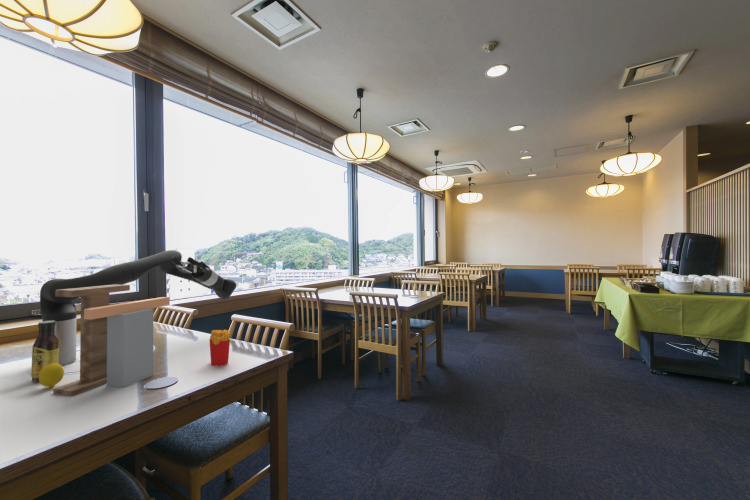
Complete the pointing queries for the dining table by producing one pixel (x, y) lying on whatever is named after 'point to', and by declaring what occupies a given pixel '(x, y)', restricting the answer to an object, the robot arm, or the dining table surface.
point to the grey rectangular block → (129, 347)
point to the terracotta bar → (125, 308)
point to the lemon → (51, 374)
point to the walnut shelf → (90, 338)
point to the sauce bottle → (44, 348)
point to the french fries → (219, 347)
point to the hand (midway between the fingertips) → (180, 259)
